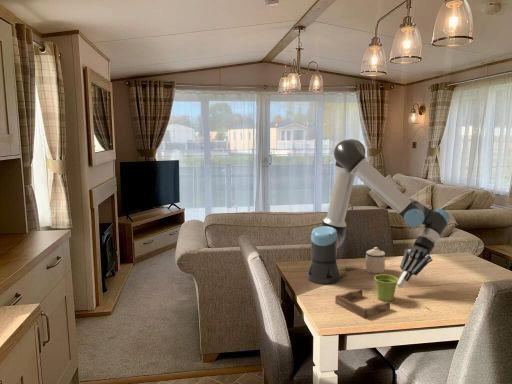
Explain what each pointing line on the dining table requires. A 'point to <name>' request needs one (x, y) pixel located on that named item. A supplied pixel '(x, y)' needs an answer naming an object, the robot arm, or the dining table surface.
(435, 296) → the dining table surface
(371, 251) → the teacup with lid
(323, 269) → the robot arm
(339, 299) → the walnut bay
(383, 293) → the plant pot
